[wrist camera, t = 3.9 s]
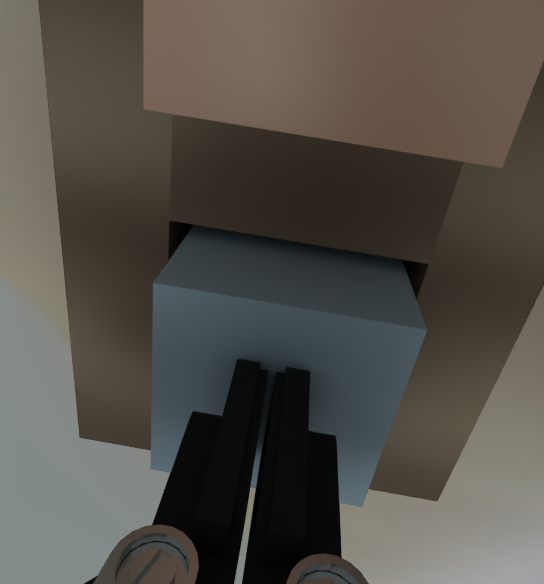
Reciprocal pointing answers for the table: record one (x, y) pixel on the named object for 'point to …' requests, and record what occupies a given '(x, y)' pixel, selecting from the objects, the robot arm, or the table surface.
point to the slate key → (284, 340)
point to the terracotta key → (351, 69)
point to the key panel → (278, 234)
